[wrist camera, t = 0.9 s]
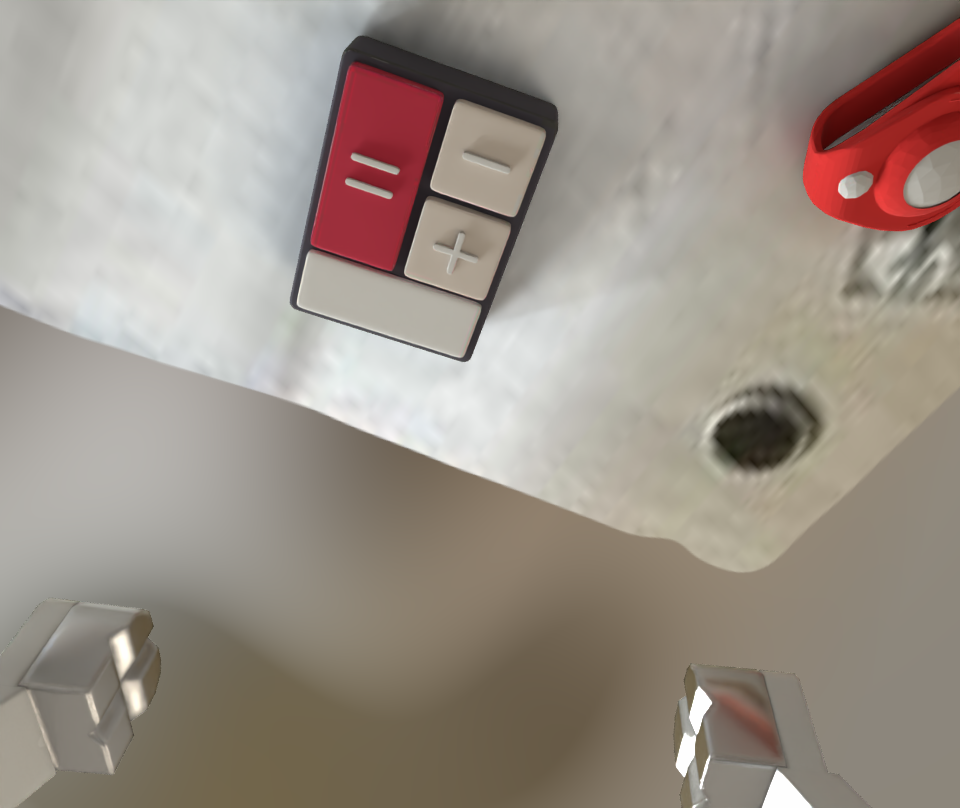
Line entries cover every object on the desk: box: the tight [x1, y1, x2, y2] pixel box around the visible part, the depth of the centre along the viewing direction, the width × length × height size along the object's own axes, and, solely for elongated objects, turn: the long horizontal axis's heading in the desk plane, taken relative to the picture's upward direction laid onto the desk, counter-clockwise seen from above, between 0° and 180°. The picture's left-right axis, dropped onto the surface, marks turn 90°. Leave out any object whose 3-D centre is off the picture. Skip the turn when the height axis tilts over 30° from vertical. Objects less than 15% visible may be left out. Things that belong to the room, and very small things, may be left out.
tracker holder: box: [803, 18, 960, 231], centre depth 40 cm, size 12×4×10 cm
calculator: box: [290, 36, 558, 362], centre depth 45 cm, size 11×4×15 cm
